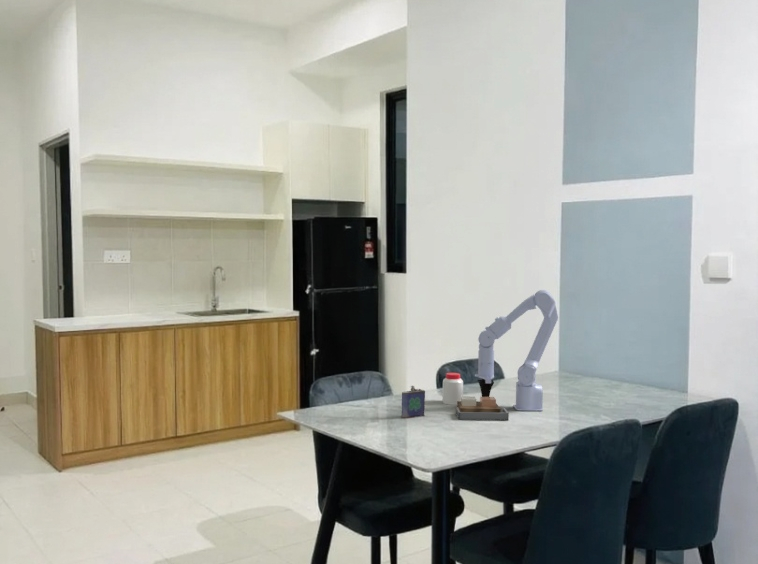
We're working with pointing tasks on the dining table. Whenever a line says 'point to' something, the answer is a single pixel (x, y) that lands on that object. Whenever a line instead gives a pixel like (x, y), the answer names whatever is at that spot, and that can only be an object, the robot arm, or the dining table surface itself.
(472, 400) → the tile cream
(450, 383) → the pill bottle
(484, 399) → the tile terracotta
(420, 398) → the flask
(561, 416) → the dining table surface
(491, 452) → the dining table surface
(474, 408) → the board
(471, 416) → the tray
